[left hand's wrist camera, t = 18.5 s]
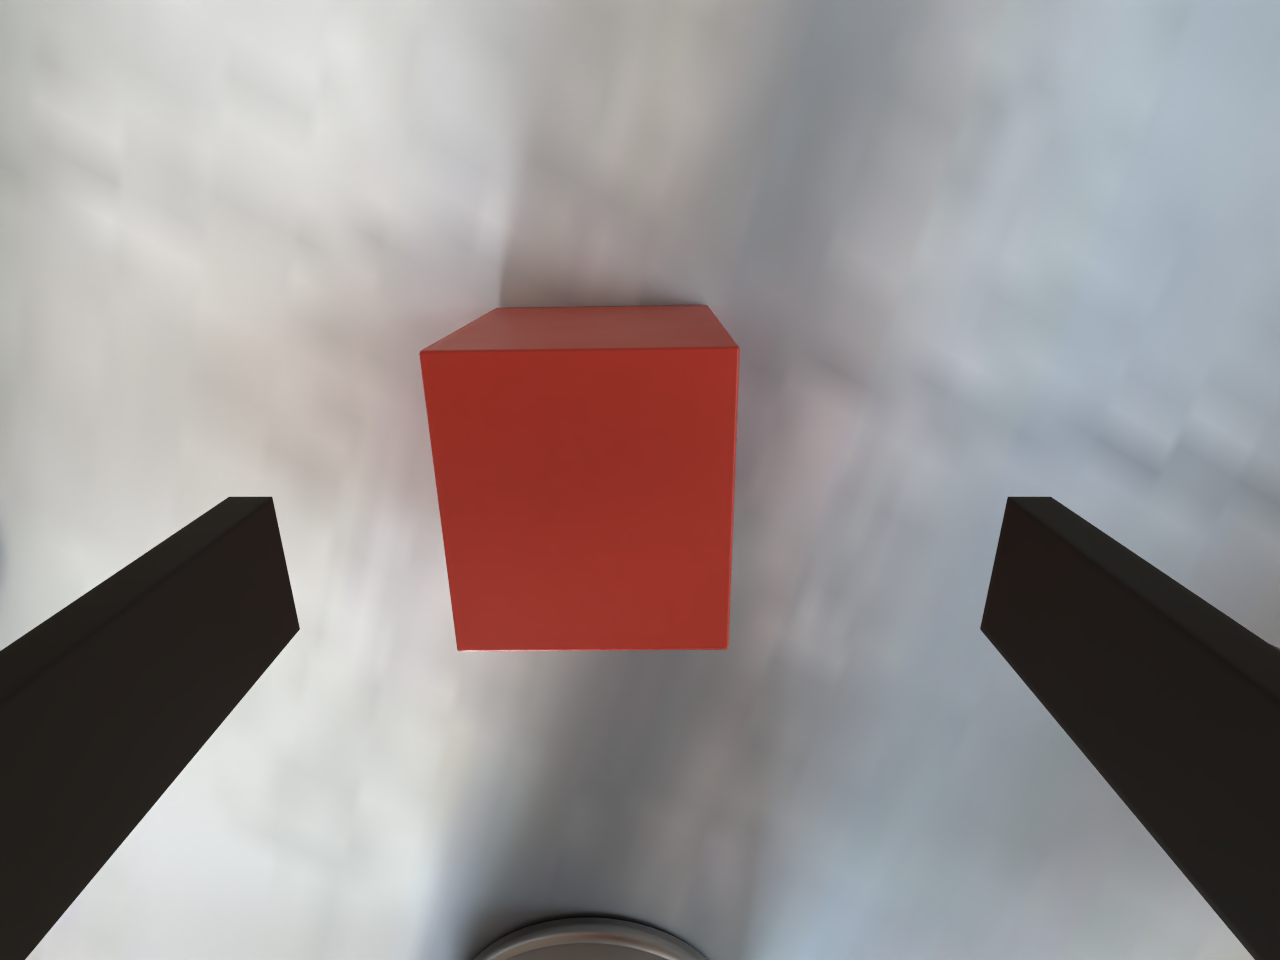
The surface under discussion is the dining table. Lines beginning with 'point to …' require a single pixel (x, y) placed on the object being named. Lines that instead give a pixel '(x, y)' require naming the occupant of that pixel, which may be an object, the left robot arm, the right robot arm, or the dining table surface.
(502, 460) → the brick
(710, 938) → the dining table surface
